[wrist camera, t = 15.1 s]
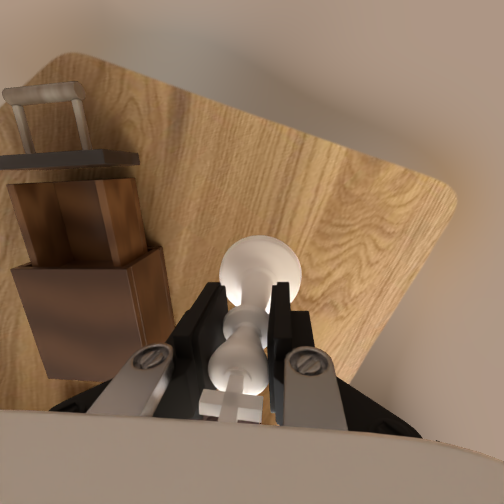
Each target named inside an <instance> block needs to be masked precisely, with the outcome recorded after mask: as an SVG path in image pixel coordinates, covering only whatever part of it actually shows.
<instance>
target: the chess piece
mask: <svg viewBox="0 0 504 504" xmlns="http://www.w3.org/2000/svg"><path fill="white" fill-rule="evenodd" d="M219 277H220V283H221V285H225V287H226V296H227V298H228V299H229V300H230V301H231V302H232V303H233V304H234V305H235V306H236V307H234V308H232V309H231V310H229V311H228V313H227V314H226V315H225V317H224V320H223V333H224V336H225V338H226V341H225V342H224V343H223V344H222V345H220V346H219V347H218V348H217V350H216V351H215V352H214V353H213V354H212V356H211V358H210V360H209V363H208V374H209V377H210V380H211V381H212V383H213V384H214V386H215V387H216V388H217V389H218V390H220V391H217V390H209V389H203V392H202V395H201V397H200V400H199V414H200V415H208V416H215V417H219V418H218V422H232V423H237V422H238V420H244V421H252V422H259V423H261V420H262V408H263V396H257V395H258V394H259V393H261V392H262V391H263V390H264V389H265V388H266V387H267V385H268V383H269V372H268V359H267V356H266V354H265V353H264V350H263V349H264V348H265V347H267V331H268V321H269V312H270V302H271V292H272V285H277V282H289V285H290V303H291V302H292V301H293V299H294V298H295V297H296V295H297V293H298V291H299V288H300V283H301V277H302V272H301V266H300V262H299V260H298V258H297V256H296V254H295V253H294V252H293V250H292V249H291V248H290V247H289V246H288V245H286V244H285V243H284V242H282V241H280V240H278V239H276V238H273V237H270V236H264V235H255V236H249V237H246V238H243V239H241V240H239V241H237V242H236V243H234V244H233V245H232V246H231V247H230V248H229V249H228V250H227V252H226V253H225V255H224V257H223V259H222V263H221V267H220V273H219Z"/></svg>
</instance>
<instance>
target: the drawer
mask: <svg viewBox="0 0 504 504" xmlns="http://www.w3.org/2000/svg"><path fill="white" fill-rule="evenodd" d="M2 95H3V98H4V99H5V101H6V102H7V103H8V104H10V105H12V108H13V112H14V115H15V119H16V122H17V126H18V129H19V132H20V136H21V139H22V143H23V146H24V150H25V153H26V154H18V155H3V156H0V170H61V169H79V168H96V167H114V166H131V165H140V161H139V155H138V153H132V152H124V151H115V150H107V149H93V150H92V145H91V140H90V136H89V131H88V126H87V122H86V117H85V113H84V108H83V103H82V101H81V100H84V99H85V96H86V94H85V90H84V88H83V86H82V85H81V84H80V83H79V82H77V81H71V82H62V83H52V84H43V85H33V86H24V87H14V88H6V89H4V90H3V91H2ZM66 101H72V105H73V109H74V114H75V118H76V123H77V127H78V132H79V136H80V140H81V145H82V149H83V150H78V151H63V152H48V153H36V152H35V148H34V144H33V141H32V137H31V133H30V130H29V126H28V123H27V119H26V115H25V112H24V108H23V106H24V105H34V104H45V103H55V102H66ZM6 186H7V189H8V192H9V195H10V198H11V201H12V205H13V208H14V211H15V214H16V217H17V220H18V223H19V226H20V230H21V233H22V236H23V239H24V242H25V245H26V248H27V251H28V255H29V258H30V261H31V264H32V267H124V266H125V265H127V264H129V263H130V262H132V261H134V260H135V259H137V258H139V257H141V256H142V255H144V254H146V253H147V252H148V250H147V244H146V239H145V233H144V227H143V222H142V216H141V210H140V204H139V199H138V193H137V187H136V182H135V178H122V179H102V180H83V181H62V182H42V183H22V184H7V185H6Z"/></svg>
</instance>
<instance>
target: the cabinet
mask: <svg viewBox="0 0 504 504" xmlns="http://www.w3.org/2000/svg"><path fill="white" fill-rule="evenodd" d="M147 250H148V252H147V253H146V254H144V255H142V256H141V257H139V258H137V259H135V260H134V261H132V262H130V263H129V264H127V265H125V266H124V267H32V264H31V262H29V263H26V264H24V265H21V266H18V267H15V268H13V269H11V273H12V276H13V279H14V281H15V284H16V287H17V290H18V293H19V296H20V299H21V302H22V304H23V307H24V310H25V313H26V316H27V319H28V322H29V324H30V327H31V330H32V333H33V336H34V339H35V342H36V345H37V347H38V350H39V353H40V356H41V359H42V362H43V365H44V368H45V370H46V373H47V376H48V378H49V379H65V380H81V381H98V382H106V381H108V380H110V379H112V378H114V377H115V375H116V374H117V373H118V372H119V370H120V369H121V368H122V366H123V365H124V364H125V363H126V361H127V360H128V359H129V358H130V356H131V355H132V354H133V353H134V352H135V351H137V350H138V349H140V348H142V347H144V346H146V345H149V344H153V343H165V342H166V340H167V339H168V337H169V336H170V334H171V333H172V332H173V330H174V329H175V324H174V318H173V311H172V305H171V299H170V292H169V286H168V279H167V273H166V267H165V260H164V254H163V248H162V247H147Z"/></svg>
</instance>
